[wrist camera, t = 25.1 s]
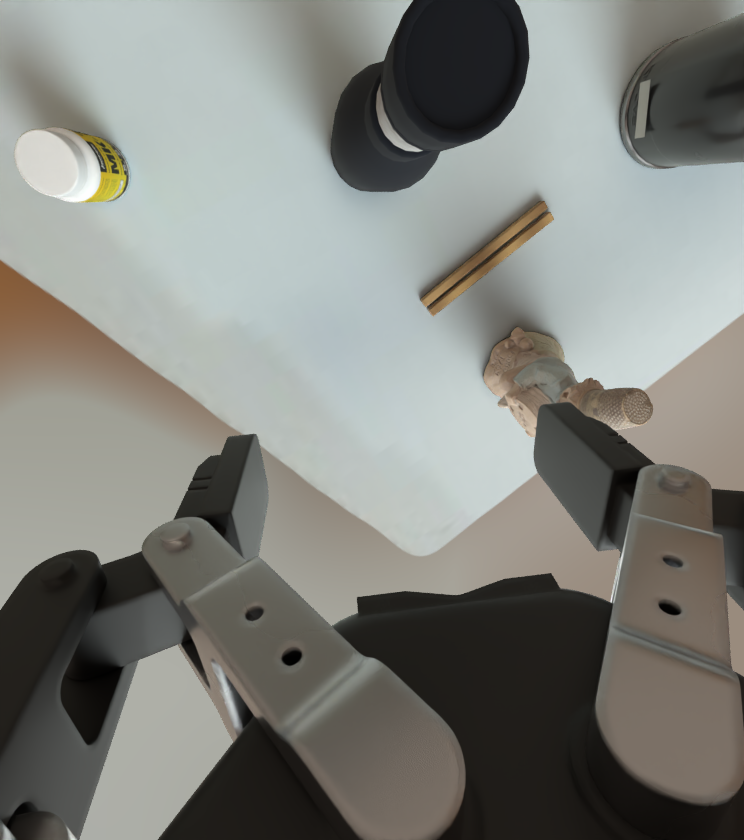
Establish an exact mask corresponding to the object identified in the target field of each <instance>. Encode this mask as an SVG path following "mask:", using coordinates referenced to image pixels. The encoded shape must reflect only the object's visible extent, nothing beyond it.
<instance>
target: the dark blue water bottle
mask: <svg viewBox="0 0 744 840" xmlns="http://www.w3.org/2000/svg"><path fill="white" fill-rule="evenodd" d="M528 63H529V44H528V30H527V27H526V25H525V22H524V19H523V16H522V13H521V10H520V7H519V5H518V4H517V3H516V1H515V0H413V2H412V3H411V4H410V6H409V7H408V9H407V10H406V12H405V13H404V15H403V17H402V19H401V21H400V23H399V26H398V28H397V30H396V32H395V34H394V37H393V39H392V41H391V43H390V46H389V48H388V51H387V54H386V57H385V60H384V61H382V62H379V63H375V64H372V65H369V66H367V67H366V68H365V69H363V70H362V71H361V72H359V73H358V74H357V75H355V76H354V77H353V78H352V79H351V81H350V82H349V84H348V85H347V87H346V88H345V89H344V91H343V92H342V94H341V97H340V100H339V103H338V106H337V109H336V113H335V118H334V125H333V132H332V138H331V155H332V159H333V164H334V167H335V168H336V170H337V172H338V174H339V175H340V177H341V178H342V179H343V180H344V181H345V182H346V183H347V184H348V185H349V186H351V187H353V188H355V189H358V190H360V191H370V192H394V191H397V190H401V189H405V188H409V187H410V186H412V185H413V184H415V183H416V182H418V181H419V180H421V179H422V178H423V177H424V176H425V175H426V174H427V172H428V171H429V170H430V169H431V167H432V166H433V165H434V163H435V162H436V160H437V158H438V155H439V153H440V151H443V150H447V149H450V148H454V147H457V146H460V145H463V144H466V143H469V142H472V141H475V140H478V139H481V138H482V137H483V136H485V135H486V134H488V133H489V132H491V131H492V130H494V129H495V128H497V127H498V126H499V125H500V124H501V123H502V121H503V120H504V119H505V118H506V117H507V115H508V114H509V113H510V112H511V110H512V109H513V108H514V106H515V104H516V102H517V100H518V97H519V95H520V93H521V91H522V89H523V86H524V84H525V79H526V74H527V68H528Z"/></svg>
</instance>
